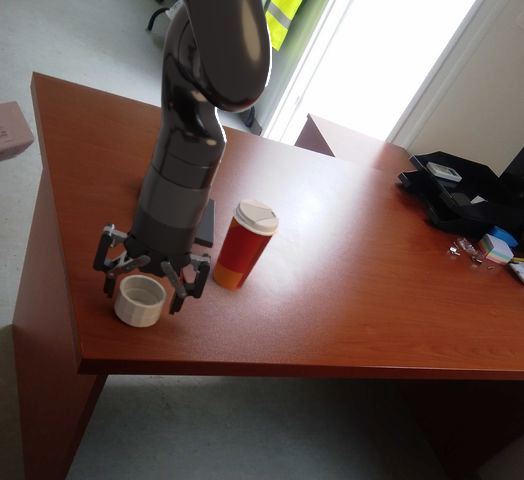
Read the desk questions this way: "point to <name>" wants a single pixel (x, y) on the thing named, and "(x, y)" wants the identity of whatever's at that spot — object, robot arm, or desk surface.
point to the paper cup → (244, 242)
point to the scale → (206, 226)
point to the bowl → (139, 300)
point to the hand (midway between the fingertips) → (141, 302)
